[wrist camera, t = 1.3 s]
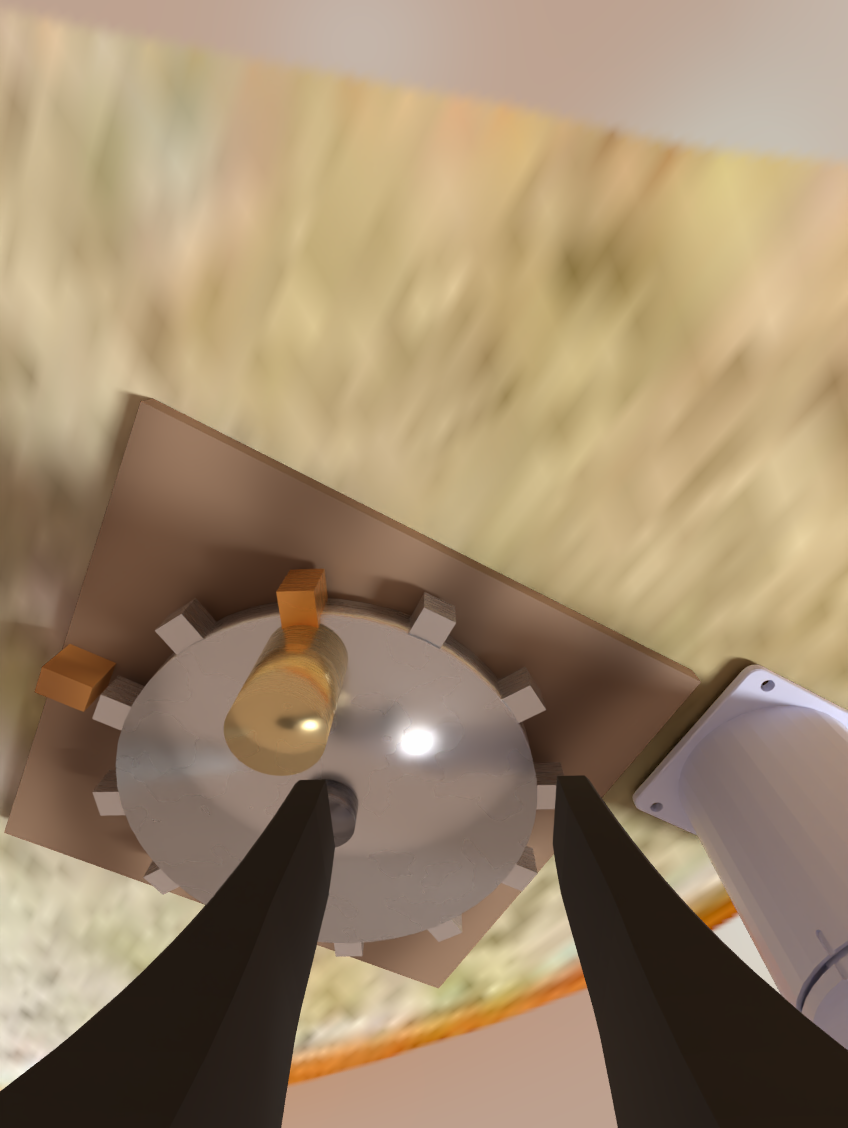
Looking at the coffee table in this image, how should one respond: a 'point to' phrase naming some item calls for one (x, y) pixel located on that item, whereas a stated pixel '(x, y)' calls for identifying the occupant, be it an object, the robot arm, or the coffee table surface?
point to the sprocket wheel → (332, 756)
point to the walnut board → (353, 572)
